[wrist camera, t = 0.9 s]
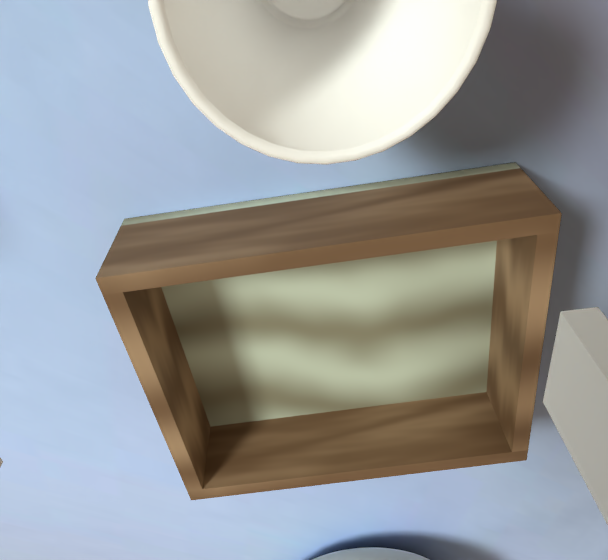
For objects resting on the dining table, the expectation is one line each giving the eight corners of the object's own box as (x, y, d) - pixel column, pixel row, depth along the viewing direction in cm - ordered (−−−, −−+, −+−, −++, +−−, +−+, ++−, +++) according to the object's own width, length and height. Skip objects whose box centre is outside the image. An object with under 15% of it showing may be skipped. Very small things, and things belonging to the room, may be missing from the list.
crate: (124, 218, 31) (95, 278, 26) (515, 162, 30) (561, 213, 25) (201, 428, 41) (191, 500, 36) (496, 391, 40) (526, 460, 35)
